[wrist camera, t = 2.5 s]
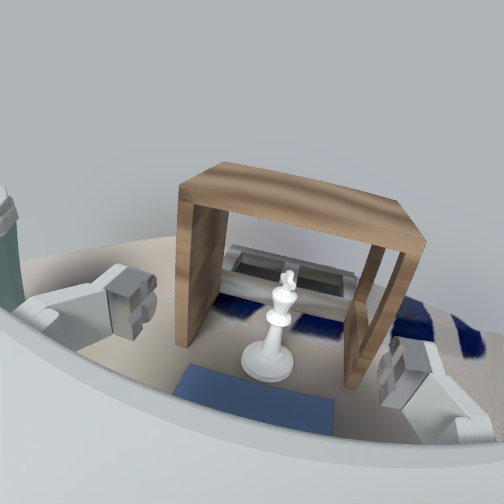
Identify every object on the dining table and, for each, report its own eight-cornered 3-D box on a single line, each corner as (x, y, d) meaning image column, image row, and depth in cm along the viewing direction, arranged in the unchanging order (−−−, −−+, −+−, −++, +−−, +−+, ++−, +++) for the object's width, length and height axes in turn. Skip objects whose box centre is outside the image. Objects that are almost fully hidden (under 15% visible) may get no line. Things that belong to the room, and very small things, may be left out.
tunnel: (355, 389, 25) (426, 241, 18) (175, 344, 28) (179, 184, 21) (349, 284, 42) (381, 181, 35) (231, 256, 44) (245, 150, 37)
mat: (323, 493, 16) (325, 491, 16) (146, 446, 18) (145, 444, 18) (332, 401, 24) (333, 399, 24) (189, 365, 26) (189, 363, 25)
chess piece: (251, 387, 24) (273, 294, 20) (233, 348, 28) (248, 257, 24) (301, 376, 26) (334, 287, 22) (280, 340, 30) (302, 254, 26)
